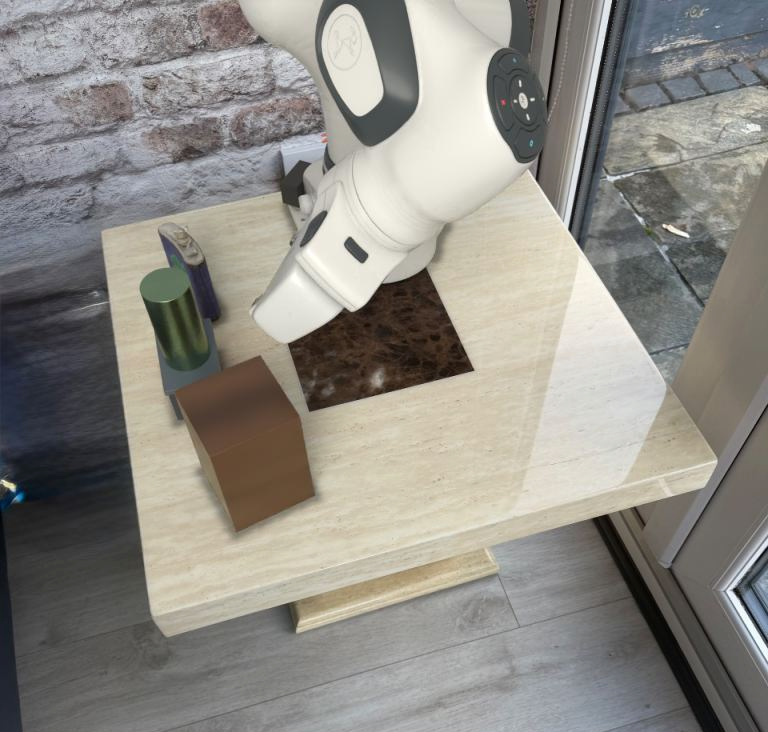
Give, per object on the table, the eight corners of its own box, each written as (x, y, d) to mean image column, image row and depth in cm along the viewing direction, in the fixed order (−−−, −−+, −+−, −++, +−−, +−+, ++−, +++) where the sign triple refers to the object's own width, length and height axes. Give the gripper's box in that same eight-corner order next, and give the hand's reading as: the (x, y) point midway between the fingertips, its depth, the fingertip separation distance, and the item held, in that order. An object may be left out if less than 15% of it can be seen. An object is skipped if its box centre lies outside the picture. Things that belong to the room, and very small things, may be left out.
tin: (158, 348, 93) (132, 278, 84) (200, 331, 94) (178, 260, 85) (174, 377, 90) (149, 308, 82) (217, 360, 91) (197, 290, 83)
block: (202, 470, 90) (173, 390, 79) (278, 437, 92) (260, 354, 81) (236, 532, 86) (209, 457, 75) (315, 496, 88) (300, 417, 77)
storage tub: (165, 361, 99) (153, 329, 94) (219, 350, 99) (210, 317, 95) (175, 423, 94) (163, 391, 89) (232, 410, 94) (223, 378, 90)
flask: (171, 284, 106) (149, 213, 97) (192, 274, 107) (171, 203, 98) (207, 326, 102) (187, 256, 93) (228, 316, 103) (210, 245, 94)
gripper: (387, 106, 71) (295, 184, 82) (296, 264, 61) (203, 330, 71) (437, 161, 74) (341, 230, 84) (357, 321, 64) (259, 378, 74)
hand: (277, 277), depth 78 cm, fingers open, 8 cm apart
